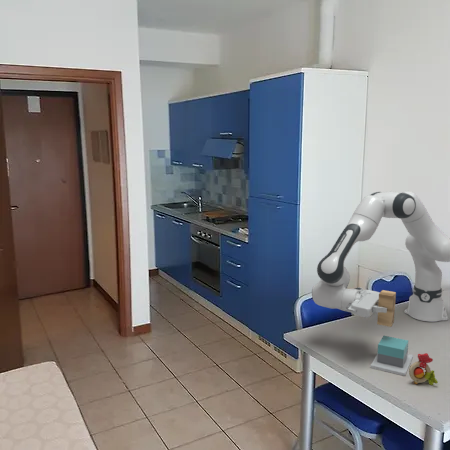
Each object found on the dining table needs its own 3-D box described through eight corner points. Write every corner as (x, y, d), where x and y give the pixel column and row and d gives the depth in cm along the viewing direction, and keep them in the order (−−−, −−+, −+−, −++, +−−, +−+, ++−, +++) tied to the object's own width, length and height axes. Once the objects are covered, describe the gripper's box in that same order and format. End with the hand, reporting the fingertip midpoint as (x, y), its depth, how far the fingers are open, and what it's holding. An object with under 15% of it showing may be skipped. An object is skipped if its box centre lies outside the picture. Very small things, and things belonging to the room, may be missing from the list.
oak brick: (380, 319, 179) (382, 290, 177) (393, 322, 177) (395, 292, 174) (377, 324, 175) (379, 293, 173) (390, 327, 172) (393, 296, 170)
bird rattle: (420, 394, 156) (444, 382, 157) (409, 366, 154) (434, 355, 154) (411, 384, 163) (434, 373, 163) (400, 358, 160) (424, 347, 160)
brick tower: (380, 350, 184) (381, 331, 182) (413, 357, 178) (414, 337, 176) (370, 367, 170) (371, 347, 169) (405, 375, 164) (406, 354, 163)
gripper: (344, 301, 172) (383, 308, 165) (360, 285, 189) (395, 291, 182) (343, 317, 173) (382, 325, 166) (359, 300, 190) (394, 306, 183)
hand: (389, 307), depth 174 cm, fingers closed on oak brick, 5 cm apart
